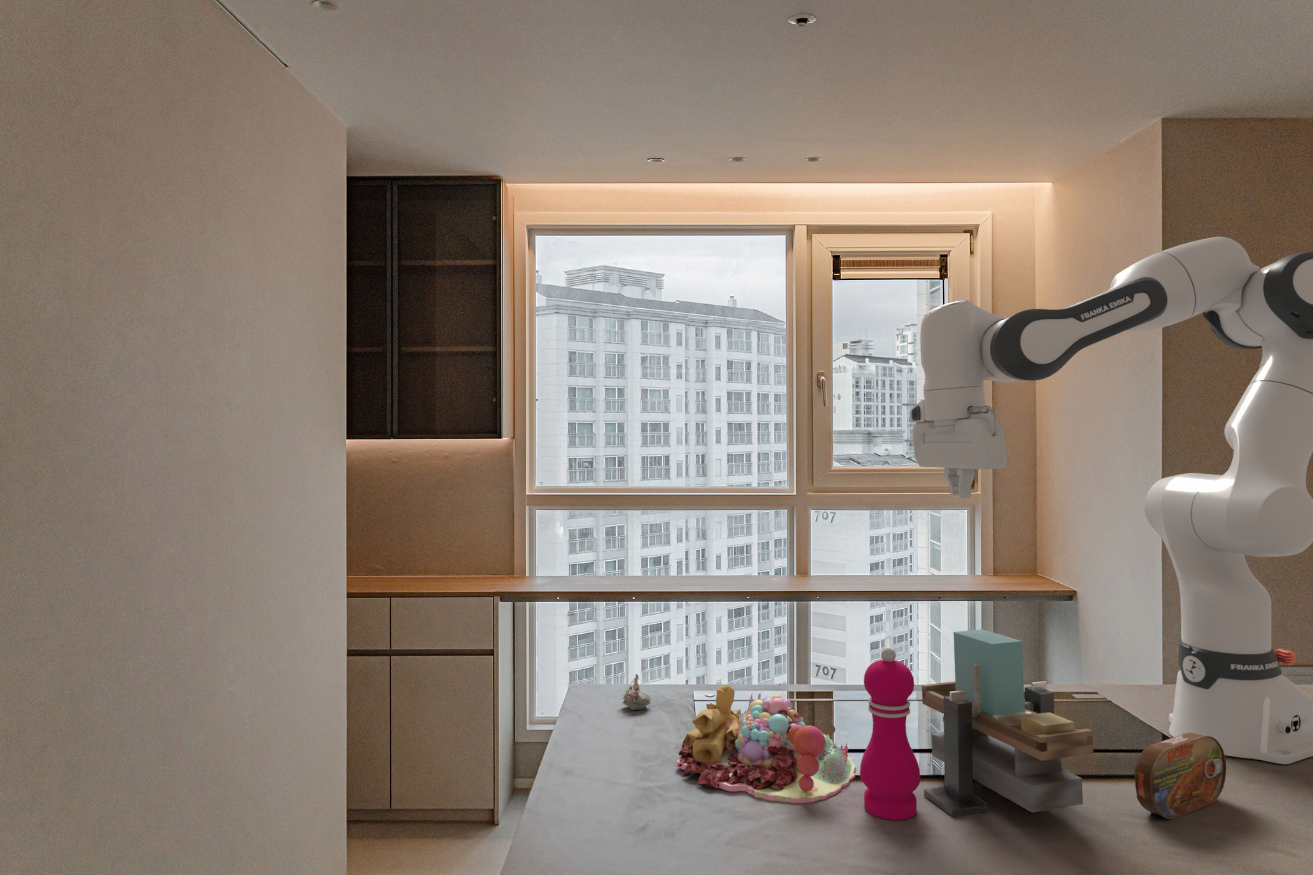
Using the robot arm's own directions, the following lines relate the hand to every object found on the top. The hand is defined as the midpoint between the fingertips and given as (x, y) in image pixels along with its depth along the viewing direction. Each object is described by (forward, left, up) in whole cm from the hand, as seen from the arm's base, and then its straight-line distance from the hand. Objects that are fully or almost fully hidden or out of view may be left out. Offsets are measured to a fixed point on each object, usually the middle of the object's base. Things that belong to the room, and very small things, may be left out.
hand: (961, 497), depth 133 cm
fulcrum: (+10, +22, -36) cm, 43 cm away
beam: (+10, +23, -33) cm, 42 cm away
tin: (-9, +31, -36) cm, 49 cm away
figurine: (+46, -25, -36) cm, 64 cm away
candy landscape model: (+34, +3, -36) cm, 50 cm away
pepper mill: (+25, +21, -36) cm, 49 cm away
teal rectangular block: (+10, +21, -26) cm, 35 cm away
